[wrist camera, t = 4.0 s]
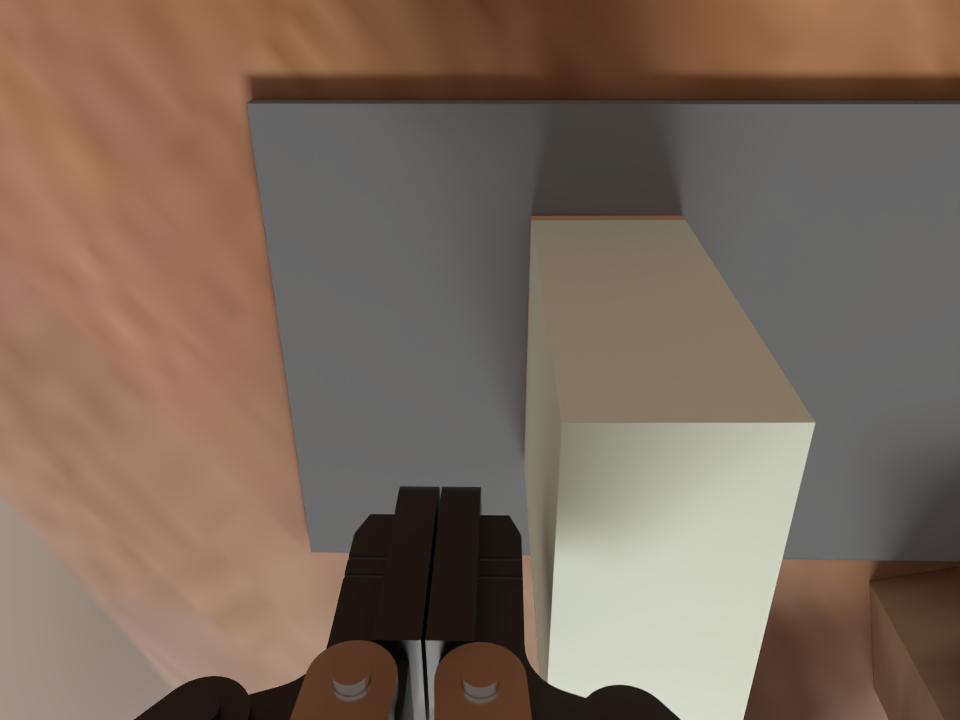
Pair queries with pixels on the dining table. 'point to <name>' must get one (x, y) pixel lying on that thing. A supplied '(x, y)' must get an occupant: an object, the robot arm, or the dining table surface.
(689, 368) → the cream block
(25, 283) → the dining table surface
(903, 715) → the walnut cube
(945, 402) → the mat
